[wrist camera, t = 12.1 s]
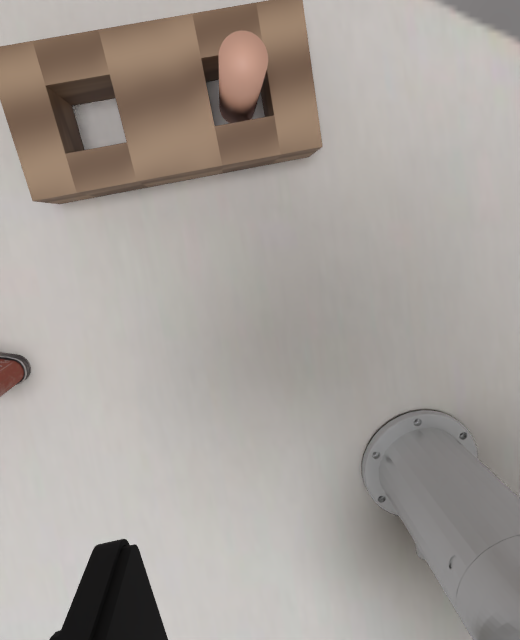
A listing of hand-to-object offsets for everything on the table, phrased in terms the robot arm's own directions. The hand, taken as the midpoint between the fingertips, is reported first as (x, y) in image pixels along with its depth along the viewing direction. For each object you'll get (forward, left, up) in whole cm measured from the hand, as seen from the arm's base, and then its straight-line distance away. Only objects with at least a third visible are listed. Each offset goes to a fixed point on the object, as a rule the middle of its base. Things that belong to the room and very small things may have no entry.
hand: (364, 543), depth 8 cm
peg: (+16, -2, -30) cm, 34 cm away
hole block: (+16, +4, -30) cm, 34 cm away
